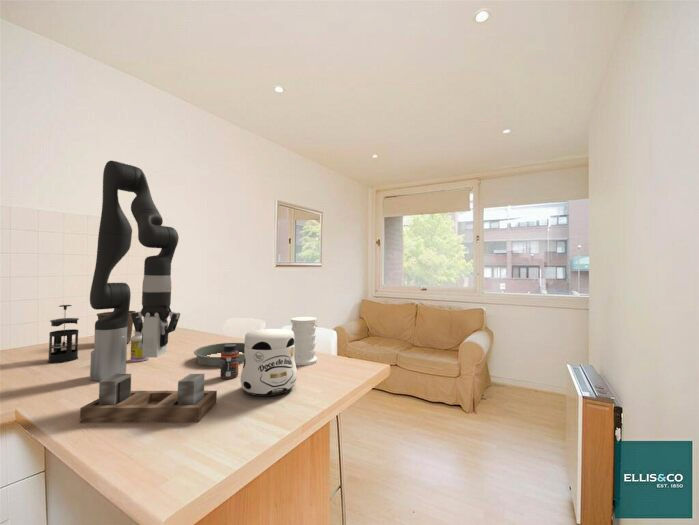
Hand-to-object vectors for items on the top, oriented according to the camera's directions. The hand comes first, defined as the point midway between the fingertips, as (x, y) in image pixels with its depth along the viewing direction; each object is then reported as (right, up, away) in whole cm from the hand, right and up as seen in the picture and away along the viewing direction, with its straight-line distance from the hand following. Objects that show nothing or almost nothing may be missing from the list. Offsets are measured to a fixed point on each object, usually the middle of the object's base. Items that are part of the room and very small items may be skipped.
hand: (154, 345), depth 94 cm
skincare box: (0, -3, 0) cm, 3 cm away
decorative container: (+40, -16, +35) cm, 56 cm away
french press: (-61, -16, +35) cm, 72 cm away
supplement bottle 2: (+17, -16, +16) cm, 28 cm away
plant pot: (-61, -17, +64) cm, 90 cm away
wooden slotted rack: (+7, -14, -12) cm, 20 cm away
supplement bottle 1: (-29, -16, +36) cm, 49 cm away
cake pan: (+6, -16, +39) cm, 42 cm away
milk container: (+34, -15, +4) cm, 38 cm away
